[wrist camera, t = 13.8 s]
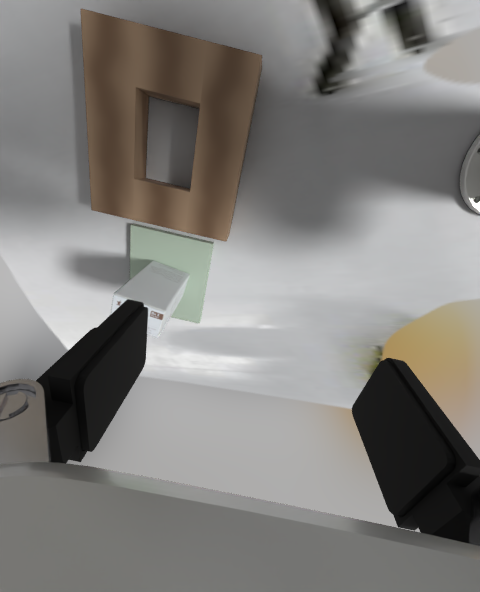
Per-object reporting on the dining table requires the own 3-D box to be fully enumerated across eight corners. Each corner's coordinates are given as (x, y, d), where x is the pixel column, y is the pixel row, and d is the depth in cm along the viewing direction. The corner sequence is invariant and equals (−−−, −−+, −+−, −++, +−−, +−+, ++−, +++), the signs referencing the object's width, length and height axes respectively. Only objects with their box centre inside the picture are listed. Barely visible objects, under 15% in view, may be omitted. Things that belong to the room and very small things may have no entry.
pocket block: (261, 68, 28) (262, 55, 25) (228, 235, 36) (225, 241, 33) (101, 27, 27) (80, 8, 24) (106, 206, 36) (91, 209, 33)
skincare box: (148, 283, 40) (105, 324, 29) (153, 257, 38) (110, 292, 27) (185, 296, 40) (157, 342, 29) (192, 272, 38) (165, 311, 27)
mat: (213, 242, 37) (212, 244, 36) (200, 320, 43) (199, 323, 42) (133, 223, 36) (130, 224, 36) (132, 305, 43) (129, 307, 42)
